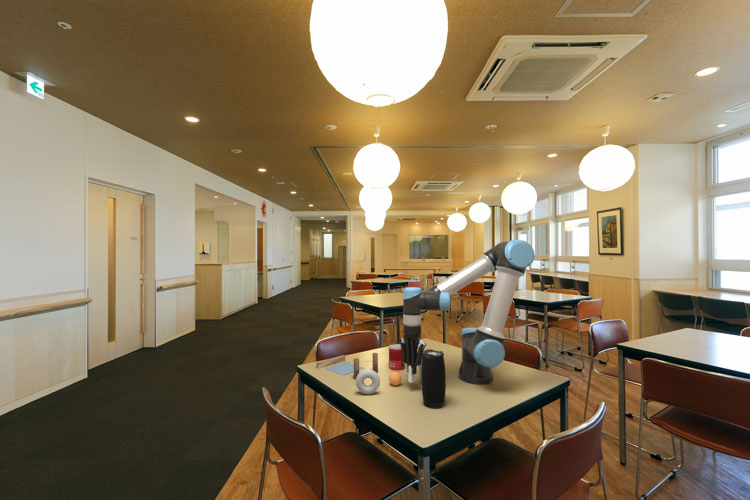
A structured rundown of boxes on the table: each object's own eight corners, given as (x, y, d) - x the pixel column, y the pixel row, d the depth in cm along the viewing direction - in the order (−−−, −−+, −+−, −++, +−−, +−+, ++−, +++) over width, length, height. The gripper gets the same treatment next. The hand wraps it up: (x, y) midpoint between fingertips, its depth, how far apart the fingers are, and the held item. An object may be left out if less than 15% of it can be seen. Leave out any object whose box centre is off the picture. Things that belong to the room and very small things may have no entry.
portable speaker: (449, 403, 124) (449, 351, 125) (437, 412, 117) (436, 356, 118) (430, 397, 130) (429, 347, 130) (417, 405, 123) (416, 352, 123)
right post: (379, 372, 160) (378, 353, 160) (375, 373, 158) (375, 354, 158) (375, 370, 161) (375, 352, 162) (371, 372, 159) (371, 353, 160)
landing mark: (364, 368, 166) (364, 367, 166) (343, 375, 155) (343, 374, 155) (346, 362, 175) (346, 362, 175) (325, 368, 165) (325, 368, 165)
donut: (355, 396, 131) (355, 370, 132) (355, 392, 135) (355, 368, 135) (380, 395, 131) (380, 370, 132) (380, 392, 135) (379, 367, 135)
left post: (360, 378, 150) (360, 359, 151) (356, 380, 149) (356, 360, 149) (356, 377, 152) (356, 358, 153) (352, 379, 150) (352, 359, 151)
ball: (404, 384, 143) (404, 372, 143) (396, 388, 139) (396, 375, 139) (394, 381, 146) (394, 369, 147) (386, 385, 142) (386, 372, 143)
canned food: (405, 370, 161) (405, 348, 162) (389, 370, 162) (388, 348, 162) (404, 365, 169) (404, 344, 169) (388, 365, 169) (388, 344, 170)
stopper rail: (345, 360, 179) (345, 355, 179) (318, 368, 166) (318, 363, 166) (342, 359, 180) (342, 355, 180) (316, 367, 167) (316, 362, 167)
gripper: (430, 325, 135) (430, 383, 134) (405, 321, 144) (405, 375, 143) (419, 327, 130) (419, 388, 129) (394, 323, 139) (394, 379, 138)
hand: (411, 381), depth 136 cm, fingers closed
